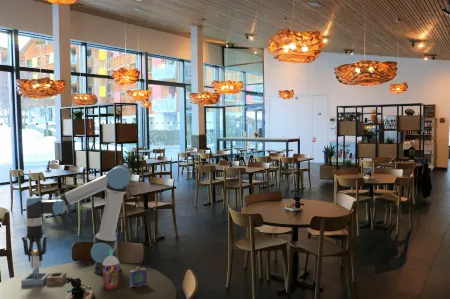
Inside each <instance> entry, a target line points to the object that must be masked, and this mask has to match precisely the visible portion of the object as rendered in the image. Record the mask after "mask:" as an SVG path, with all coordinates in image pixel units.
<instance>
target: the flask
mask: <svg viewBox="0 0 450 299" xmlns="http://www.w3.org/2000/svg"><path fill="white" fill-rule="evenodd" d="M128 274H129V277H128V278H129V288H130V287H135V286H138V285H144V284H146V285H147V269H146V268H145V267H140V266H139V265H137V266H136V267H135V269H131V270H130V271H129V273H128Z"/></svg>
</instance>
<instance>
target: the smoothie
mask: <svg viewBox="0 0 450 299" xmlns="http://www.w3.org/2000/svg"><path fill="white" fill-rule="evenodd" d="M118 260H119V259H118ZM118 260H117V258H116V257H115V256H111V251H110V256H107V257H106V258H105V259H104V261H103V263H102V264H103V274H102V275H103V284H104V285H103V286H104V288H105V290H107V291H111V290H115V289H116V288H117V287H118V284H119V271H118V266H119V262H120V260H119V261H118Z"/></svg>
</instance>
